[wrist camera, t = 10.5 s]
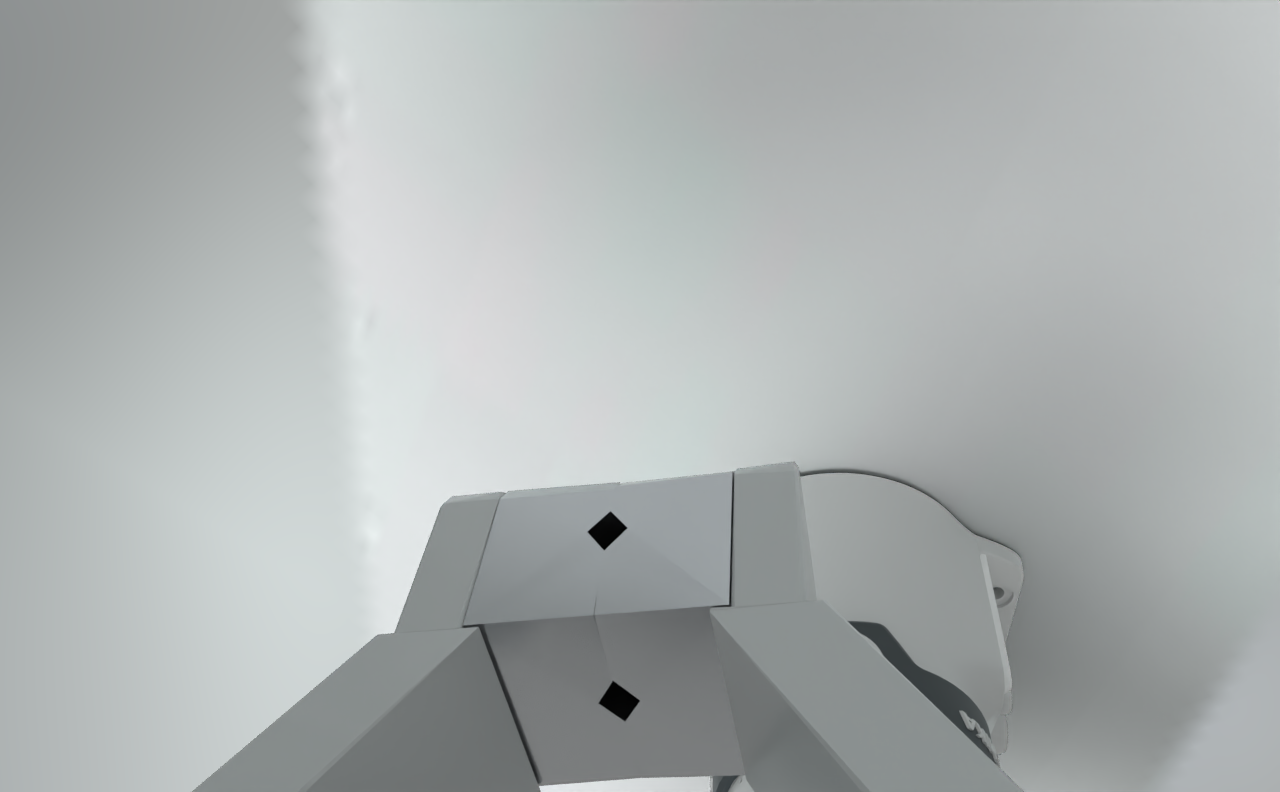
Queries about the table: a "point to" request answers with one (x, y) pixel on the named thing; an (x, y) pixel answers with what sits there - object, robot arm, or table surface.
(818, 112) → the table surface
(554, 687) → the robot arm
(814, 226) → the table surface
